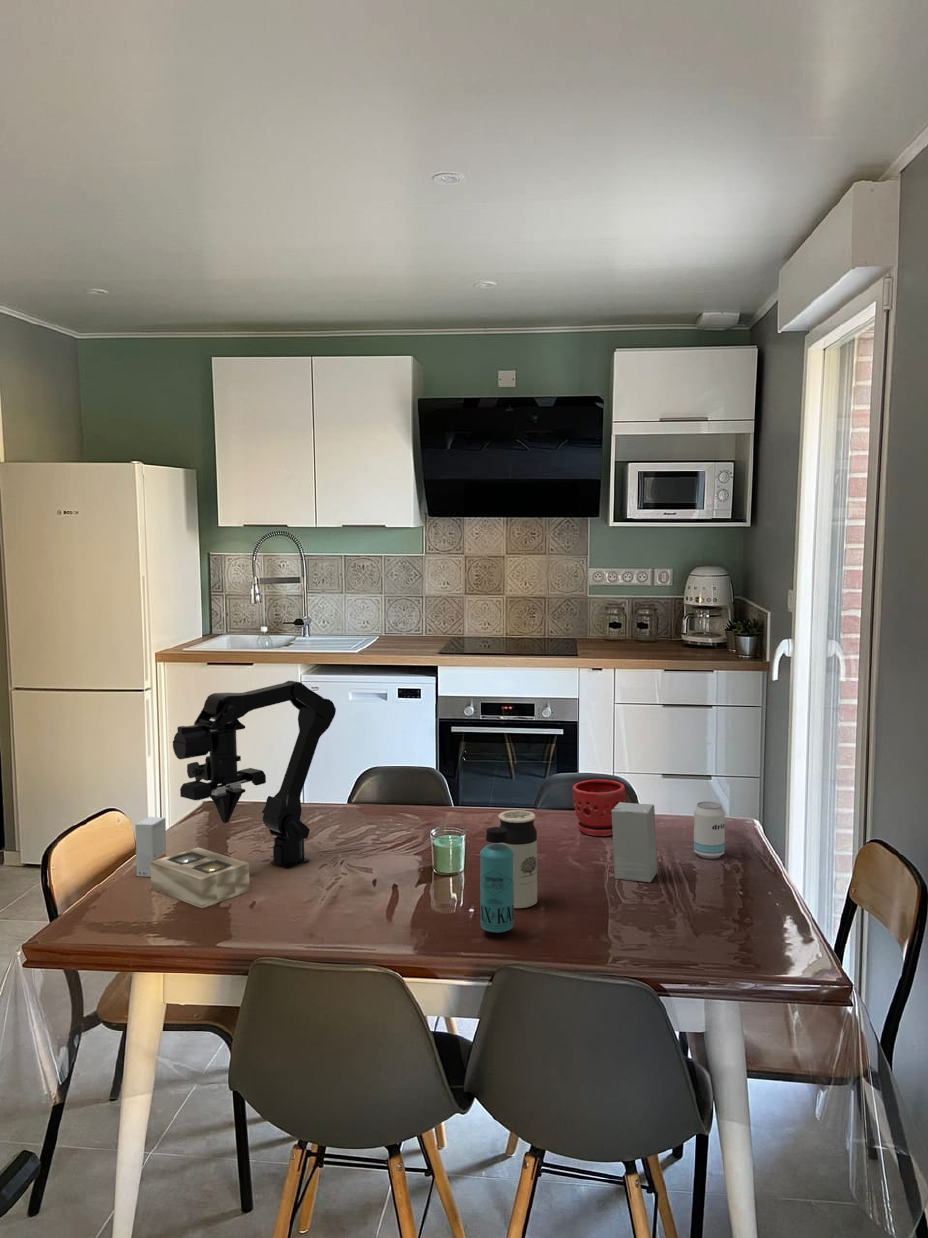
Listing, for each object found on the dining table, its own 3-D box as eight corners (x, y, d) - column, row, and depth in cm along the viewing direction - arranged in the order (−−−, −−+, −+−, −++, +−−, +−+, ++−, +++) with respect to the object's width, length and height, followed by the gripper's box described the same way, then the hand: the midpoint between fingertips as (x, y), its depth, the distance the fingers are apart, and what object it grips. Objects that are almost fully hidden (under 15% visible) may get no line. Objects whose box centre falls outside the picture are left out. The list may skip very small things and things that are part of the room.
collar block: (198, 873, 207) (197, 847, 207) (249, 891, 196) (248, 863, 195) (151, 889, 198) (150, 861, 197) (201, 908, 186) (200, 879, 186)
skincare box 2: (657, 874, 203) (657, 803, 202) (649, 885, 196) (649, 812, 195) (619, 869, 206) (619, 799, 205) (611, 879, 200) (610, 807, 199)
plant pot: (588, 821, 243) (587, 776, 243) (633, 829, 236) (633, 783, 235) (563, 833, 233) (563, 787, 232) (610, 842, 225) (610, 794, 224)
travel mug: (491, 898, 190) (490, 812, 189) (526, 892, 193) (525, 807, 192) (508, 912, 183) (507, 822, 181) (544, 905, 186) (543, 817, 184)
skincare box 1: (153, 878, 205) (151, 825, 204) (136, 876, 205) (134, 824, 205) (167, 868, 211) (165, 817, 210) (150, 867, 211) (148, 816, 211)
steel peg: (190, 877, 202) (189, 854, 202) (201, 880, 200) (200, 858, 199) (174, 882, 199) (173, 859, 199) (185, 886, 197) (184, 863, 196)
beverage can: (713, 862, 210) (713, 810, 209) (687, 855, 215) (688, 804, 214) (730, 855, 214) (730, 805, 214) (704, 848, 220) (705, 799, 219)
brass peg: (215, 885, 197) (214, 862, 196) (226, 890, 194) (226, 866, 194) (199, 891, 194) (198, 868, 193) (210, 895, 191) (210, 872, 191)
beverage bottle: (478, 927, 175) (476, 824, 174) (512, 925, 176) (511, 822, 174) (481, 941, 169) (480, 834, 167) (517, 940, 169) (516, 833, 168)
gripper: (235, 740, 212) (237, 807, 214) (163, 754, 198) (166, 826, 199) (266, 746, 205) (268, 815, 207) (195, 761, 191) (197, 835, 192)
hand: (225, 822), depth 201 cm, fingers closed
